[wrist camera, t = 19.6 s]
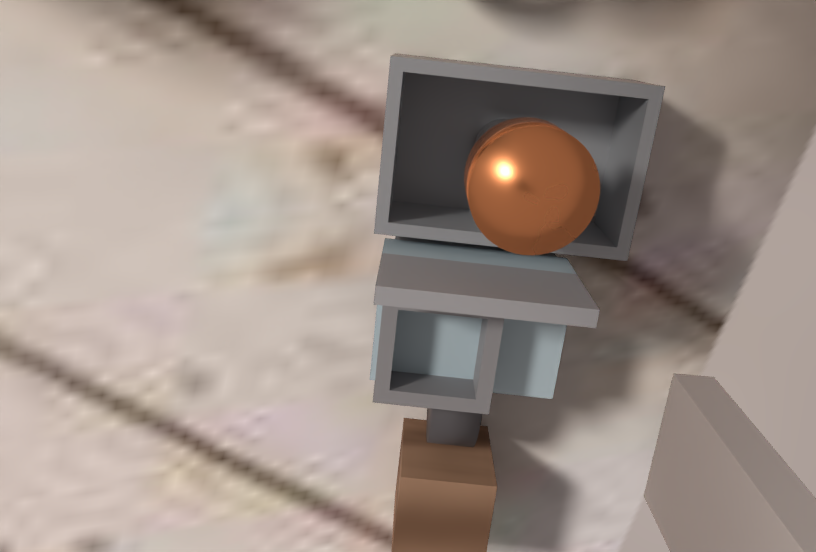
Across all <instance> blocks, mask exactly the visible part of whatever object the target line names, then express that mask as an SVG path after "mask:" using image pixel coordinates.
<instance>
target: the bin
mask: <svg viewBox="0 0 816 552" xmlns="http://www.w3.org/2000/svg"><path fill="white" fill-rule="evenodd" d="M664 90H665V86H660V85H655V84H650V83H645V82H640V81H635V80H627V79H618V78H610V77H601V76H592V75H583V74H574V73H565V72H556V71H547V70H538V69H529V68H520V67H511V66H502V65H493V64H484V63H475V62H466V61H457V60H448V59H439V58H430V57H421V56H412V55H403V54H393V55H391V57H390V68H389V79H388V90H387V100H386V111H385V122H384V132H383V143H382V154H381V164H380V175H379V186H378V197H377V207H376V218H375V229H374V234H383V235H392V236H401V237H410V238H420V239H429V240H438V241H447V242H456V243H466V244H475V245H484V246H493V247H498V246H496V245H495V244H493V243H492V242H491V241H490V240H488V239H487V238H486V237H485V236H484V235H483V233H482V232H481V231H480V229H479V228H478V227H477V225H476V223H475V221H474V219H473V217H472V214H471V211H470V207H469V203H468V200H467V196H466V191H465V187H464V170H465V165H466V162H467V159H468V156H469V154H470V152H471V150H472V148H473V146H474V141H475V138H476V135H477V134H478V132H479V131H480V129H481V128H482V127H483V126H484V125H486V124H487V123H489V122H490V121H493V120H495V119H501V118H507V119H513V118H519V117H533V118H539V119H543V120H546V121H549V122H551V123H553V124H555V125H556V126H558V127H559V128H561V129H562V130H564V131H565V132H567V133H568V134H570V135H571V136H573V137H574V138H576V139H577V140H578V141H579V142H581V143H582V144H583V145H584V146H585V148H586V149H587V150H588V151H589V153H590V154H591V156H592V158H593V159H594V162H595V164H596V166H597V170H598V173H599V179H600V196H599V202H598V205H597V209H596V211H595V214H594V216H593V218H592V220H591V221H590V223H589V225H588V226H587V227H586V229H585V230H584V231H583V232H582V233H581V234H580V235H579V236H578V237H577V238H576V239H575V240H574V241H572V242H571V243H569V244H568V245H566V246H565V247H563V248H561V249H558V250H556V251H553V252H550V253H558V254H567V255H576V256H585V257H595V258H604V259H613V260H622V261H627V260H628V256H629V251H630V246H631V242H632V237H633V233H634V228H635V223H636V219H637V214H638V210H639V205H640V200H641V196H642V191H643V187H644V182H645V177H646V173H647V168H648V164H649V159H650V154H651V150H652V145H653V140H654V136H655V131H656V127H657V122H658V117H659V113H660V108H661V104H662V99H663V94H664Z"/></svg>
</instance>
